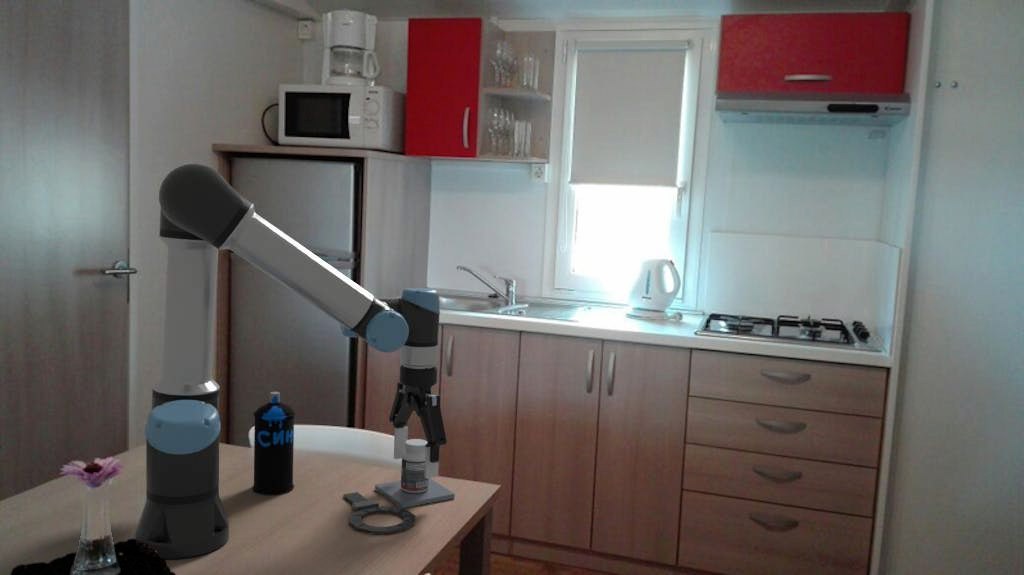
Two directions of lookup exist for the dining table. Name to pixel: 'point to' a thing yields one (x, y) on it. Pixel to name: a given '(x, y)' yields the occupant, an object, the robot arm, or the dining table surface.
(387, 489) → the slate trivet
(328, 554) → the dining table surface
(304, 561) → the dining table surface
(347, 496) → the iron eye
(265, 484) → the aerosol can
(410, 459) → the pill bottle
